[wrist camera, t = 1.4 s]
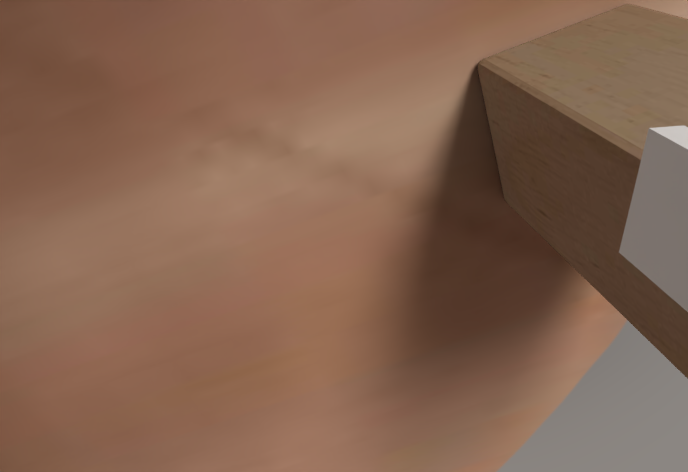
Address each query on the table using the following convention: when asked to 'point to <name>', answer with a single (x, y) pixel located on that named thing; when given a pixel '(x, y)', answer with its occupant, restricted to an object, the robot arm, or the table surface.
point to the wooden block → (592, 146)
